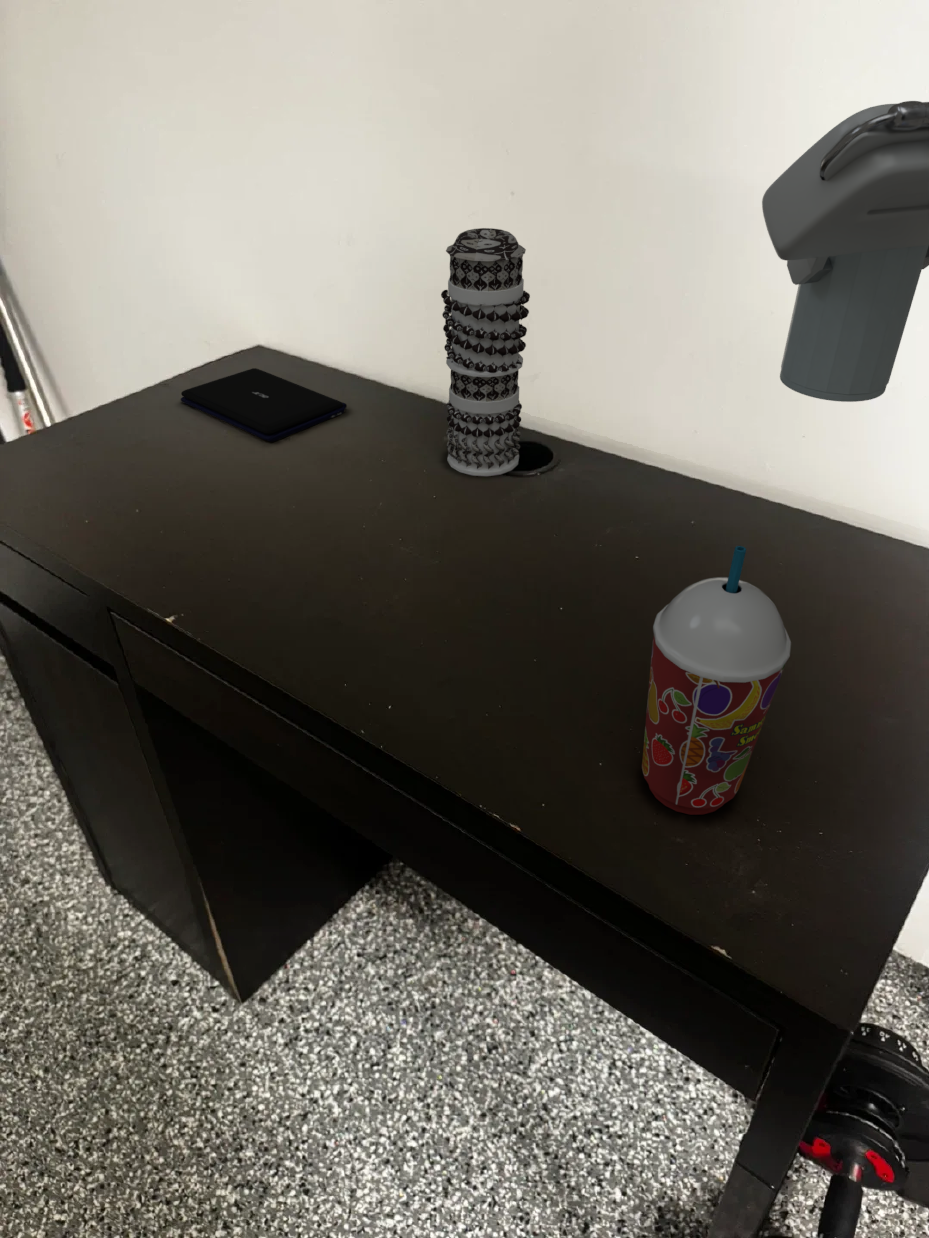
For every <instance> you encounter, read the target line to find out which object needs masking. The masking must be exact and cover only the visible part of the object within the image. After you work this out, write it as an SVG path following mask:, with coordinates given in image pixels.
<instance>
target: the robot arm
mask: <svg viewBox="0 0 929 1238" xmlns="http://www.w3.org/2000/svg"><path fill="white" fill-rule="evenodd" d="M761 208H762V216H763V219H764V223H765V227H766V231H767V233H768V237H769V239H770V241H771V244H772V246H773V249H774V250H775V253H776V255H777V257H778V258H779V259H780V260H782V261H786V267H787V271H788V274H789V277H790V280H791V282H792V284H794V285H795V286H799V284H806V283H813V282H818V281H819V280H820V279H821V277H823V276H825V275H826V274H827V273H829V272H830V271H831V270H832V269H833V267H832V264H831V261H830V258H829V256H830V257H833V256H837V255H844V254H853V253H862V252H871V251H880V250H889V249H898V248H907V247H916V246H925V245H929V101H920V100H906V101H902V102H899V103H885V104H878V105H874V106H870V107H867V108H864V109H862V110H859V111H857V112H855V113H853V114H852V115H850V116H847V118H845V119H844V120H843V121H840V122H839V123H838V124H837V125H835V126H834V127H833V128H831V129H830V130H829V131H828V132H826V133H825V134H824V135H823V136H822V137H821V138H820V139H818V140H817V141H816V142H815V143H813V144H812V146H810V147H809V148H808V149H807V150H806V151H805V152H803V154H801V156H799V157H798V158H797V159H796V160H795V161H794V162H793V163H792V164H791V165H790V166H789V167H788V168H786V169H785V170H784V172H783V173H782V174H780V175H779V177H777V178H776V179H775V181H774V182H772V183H771V185H770V186H769V187H768V188H767V189H766V190H765V191H764V193H763V196H762V199H761ZM927 267H929V246H928V250H927V253H926V256H925V260H924V263H923V267H922V270H925V269H926V268H927Z"/></svg>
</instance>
